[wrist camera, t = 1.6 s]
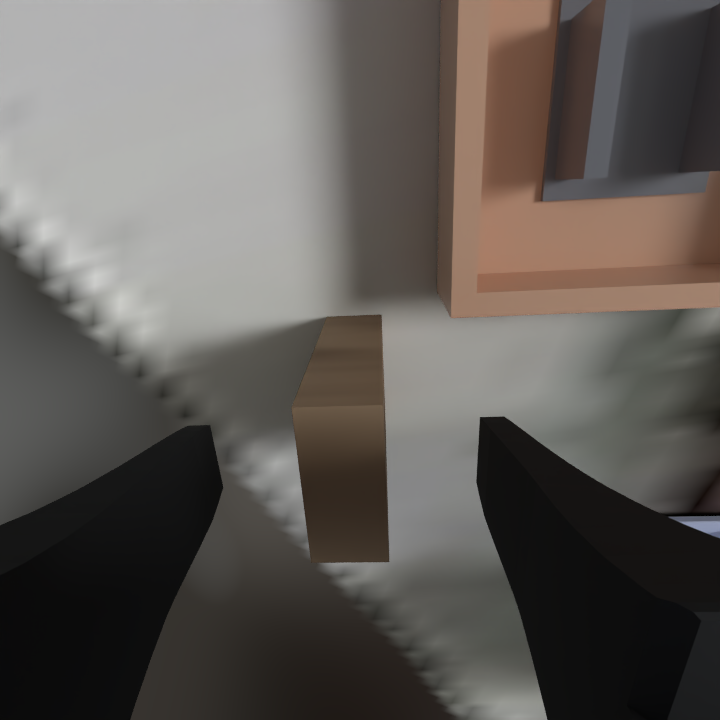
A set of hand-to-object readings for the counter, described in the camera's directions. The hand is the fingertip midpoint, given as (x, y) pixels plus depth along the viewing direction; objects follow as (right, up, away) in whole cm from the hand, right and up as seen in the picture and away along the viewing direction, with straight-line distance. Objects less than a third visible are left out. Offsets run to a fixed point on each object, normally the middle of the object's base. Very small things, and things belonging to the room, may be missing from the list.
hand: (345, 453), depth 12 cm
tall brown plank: (0, +2, +5) cm, 6 cm away
